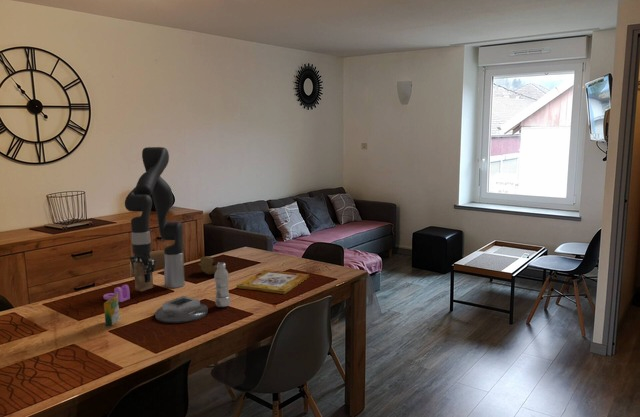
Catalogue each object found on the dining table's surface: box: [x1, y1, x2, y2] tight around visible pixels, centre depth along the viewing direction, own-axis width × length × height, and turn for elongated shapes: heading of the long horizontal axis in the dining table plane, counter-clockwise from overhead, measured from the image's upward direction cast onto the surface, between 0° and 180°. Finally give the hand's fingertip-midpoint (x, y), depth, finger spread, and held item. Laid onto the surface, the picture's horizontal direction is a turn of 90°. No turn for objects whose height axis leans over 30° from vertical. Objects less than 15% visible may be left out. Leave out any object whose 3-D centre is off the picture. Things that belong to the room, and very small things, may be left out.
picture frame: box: [236, 269, 310, 295], centre depth 258 cm, size 27×2×30 cm
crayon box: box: [103, 293, 121, 327], centre depth 204 cm, size 7×3×12 cm, turn 178°
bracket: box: [103, 284, 131, 303], centre depth 234 cm, size 13×6×7 cm, turn 64°
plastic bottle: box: [213, 261, 231, 308], centre depth 221 cm, size 6×7×20 cm
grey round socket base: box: [154, 295, 209, 324], centre depth 214 cm, size 22×22×6 cm
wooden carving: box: [198, 255, 218, 275], centre depth 275 cm, size 16×5×10 cm, turn 58°
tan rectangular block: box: [133, 262, 154, 292], centre depth 209 cm, size 4×6×12 cm, turn 148°
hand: (143, 281), depth 209 cm, fingers closed on tan rectangular block, 4 cm apart
